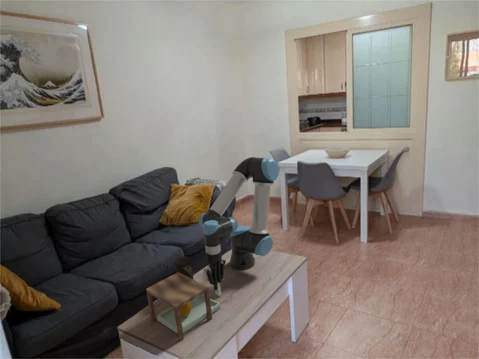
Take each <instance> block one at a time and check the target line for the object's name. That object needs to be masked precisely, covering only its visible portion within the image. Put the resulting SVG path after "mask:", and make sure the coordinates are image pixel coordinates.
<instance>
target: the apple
mask: <svg viewBox="0 0 479 359" xmlns="http://www.w3.org/2000/svg"><path fill="white" fill-rule="evenodd" d="M191 307H192V304H191V301H190V302H189V303H187V304H185V305H184V306H182V307H180V314H181V318H185V317H187V316H188V315H189V314H190V311H191ZM173 309H174V308H173Z"/></svg>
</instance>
